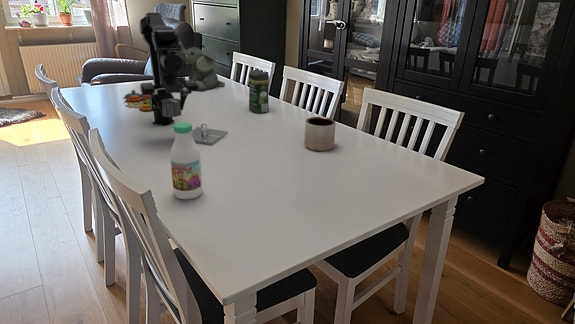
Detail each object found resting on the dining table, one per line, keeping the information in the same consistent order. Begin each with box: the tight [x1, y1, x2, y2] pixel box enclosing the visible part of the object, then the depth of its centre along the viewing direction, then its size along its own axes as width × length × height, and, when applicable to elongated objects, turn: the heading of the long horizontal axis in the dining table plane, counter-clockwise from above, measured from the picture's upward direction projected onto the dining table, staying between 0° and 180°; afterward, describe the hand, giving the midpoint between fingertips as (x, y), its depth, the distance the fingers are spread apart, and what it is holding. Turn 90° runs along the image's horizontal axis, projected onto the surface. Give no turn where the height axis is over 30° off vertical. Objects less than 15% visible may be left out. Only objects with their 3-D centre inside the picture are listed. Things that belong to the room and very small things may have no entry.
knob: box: [161, 97, 182, 118], centre depth 137 cm, size 7×7×5 cm
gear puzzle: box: [122, 89, 154, 112], centre depth 183 cm, size 31×16×4 cm, turn 25°
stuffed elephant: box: [175, 40, 226, 92], centre depth 208 cm, size 19×21×27 cm
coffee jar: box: [248, 69, 270, 114], centre depth 174 cm, size 10×8×19 cm
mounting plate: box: [192, 123, 229, 146], centre depth 144 cm, size 13×13×5 cm
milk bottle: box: [169, 121, 203, 200], centre depth 102 cm, size 8×8×20 cm
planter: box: [303, 116, 337, 152], centre depth 139 cm, size 11×11×10 cm
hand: (171, 111), depth 137 cm, fingers closed on knob, 7 cm apart
